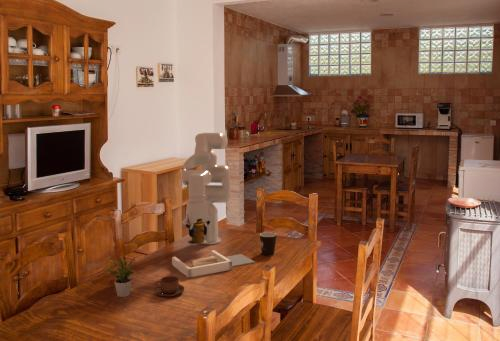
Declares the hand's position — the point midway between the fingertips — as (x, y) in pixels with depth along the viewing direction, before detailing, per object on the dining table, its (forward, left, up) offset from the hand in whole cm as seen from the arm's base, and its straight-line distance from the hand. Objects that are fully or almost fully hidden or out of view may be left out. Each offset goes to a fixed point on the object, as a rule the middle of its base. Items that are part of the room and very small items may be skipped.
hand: (198, 235), depth 258 cm
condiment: (0, -1, -3) cm, 3 cm away
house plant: (+18, -41, -15) cm, 48 cm away
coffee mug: (0, +39, -15) cm, 41 cm away
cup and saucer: (+27, -25, -15) cm, 40 cm away
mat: (+4, +19, -14) cm, 24 cm away
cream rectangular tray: (+4, 0, -14) cm, 15 cm away
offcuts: (+8, 0, -15) cm, 17 cm away
